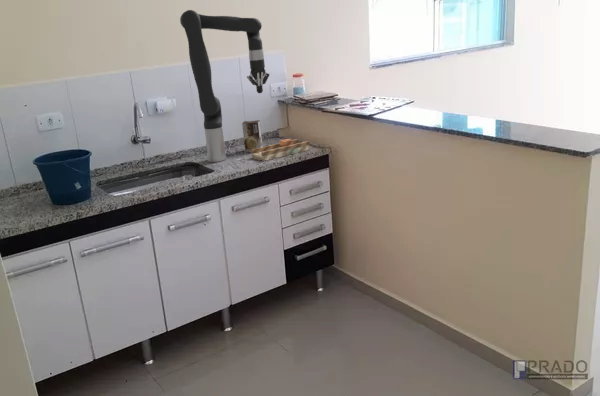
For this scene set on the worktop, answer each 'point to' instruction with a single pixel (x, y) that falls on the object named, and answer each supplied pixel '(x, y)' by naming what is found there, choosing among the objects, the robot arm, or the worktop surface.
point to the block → (286, 142)
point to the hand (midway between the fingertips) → (260, 92)
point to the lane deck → (279, 150)
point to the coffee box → (252, 135)
